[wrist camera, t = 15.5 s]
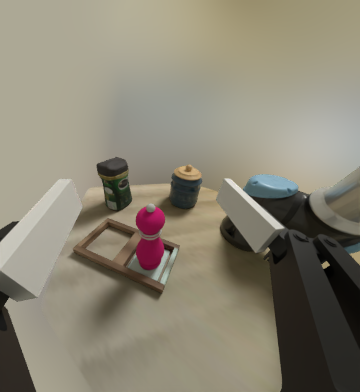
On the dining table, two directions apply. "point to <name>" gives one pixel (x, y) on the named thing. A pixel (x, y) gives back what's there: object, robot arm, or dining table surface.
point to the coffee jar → (115, 183)
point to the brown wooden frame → (125, 255)
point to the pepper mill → (150, 237)
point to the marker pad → (151, 274)
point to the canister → (185, 186)
